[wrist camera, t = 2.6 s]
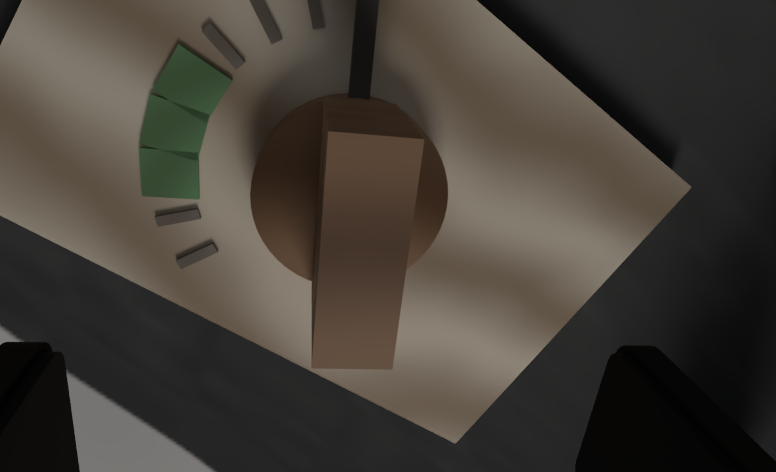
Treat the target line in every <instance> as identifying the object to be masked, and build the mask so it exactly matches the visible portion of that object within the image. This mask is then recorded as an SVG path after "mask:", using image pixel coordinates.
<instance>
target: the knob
mask: <svg viewBox="0 0 776 472" xmlns="http://www.w3.org/2000/svg"><path fill="white" fill-rule="evenodd" d="M378 8H379V0H356V6H355V18H354V30H353V42H352V54H351V66H350V79H349V91H348V93H343V94H333V95H328V96H324V97H320V98H317V99H314V100H312V101H309V102H307V103H305V104H303V105H301V106H299V107H298V108H296V109H294V110H293V111H292V112H290V113H289V114H288V115H286V116H285V117H284V118H283V119H282V120H281V121H280V122H279V123H278V124H277V125H276V126H275V128H274V129H273V130H272V131H271V133H270V134H269V135H268V137H267V139H266V141H265V143H264V144H263V146H262V149H261V151H260V154H259V156H258V159H257V162H256V165H255V168H254V172H253V176H252V180H251V190H250V202H251V210H252V216H253V220H254V223H255V226H256V229H257V231H258V233H259V235H260V237H261V239H262V241H263V243H264V244H265V245H266V247H267V248H268V250H269V251H270V252H271V253H272V255H273V256H274V257H275V258H276V259H277V260H278V261H279V262H280V263H282V264H283V265H284V266H285V267H286V268H288V269H289V270H291V271H292V272H294V273H295V274H297V275H299V276H301V277H303V278H305V279H307V280H309V281H312V369H383V370H392V369H393V361H394V354H395V347H396V340H397V333H398V326H399V318H400V311H401V304H402V297H403V290H404V283H405V275H406V269H408V268H409V267H411V266H412V265H413V264H414V263H415V262H417V261H418V260H419V259H420V258H421V257H422V256H423V255H424V253H425V252H426V251H427V250H428V249H429V247H430V246H431V245H432V243H433V242H434V240H435V238H436V236H437V235H438V233H439V231H440V229H441V226H442V223H443V221H444V218H445V213H446V209H447V202H448V182H447V177H446V171H445V168H444V165H443V162H442V159H441V157H440V155H439V153H438V151H437V149H436V147H435V146H434V144H433V143H432V141H431V140H430V138H429V137H428V136H427V135H426V133H425V132H424V131H423V130H422V129H421V127H420V126H419V125H418V124H417V123H416V122H415V121H414V120H413V119H412V118H411V117H410V116H409V115H407V114H406V113H405V112H404V111H402V110H401V109H400V108H399V107H398V106H397V104H391V103H388V102H386V101H384V100H382V99H379V98H375V97H372V96H370V90H371V80H372V70H373V59H374V49H375V39H376V29H377V19H378Z"/></svg>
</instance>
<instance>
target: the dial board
mask: <svg viewBox="0 0 776 472" xmlns="http://www.w3.org/2000/svg"><path fill="white" fill-rule="evenodd" d="M355 6H356V0H22V1H21V4H20V6H19V8H18V10H17V12H16V14H15V16H14V18H13V20H12V22H11V24H10V26H9V28H8V31H7V33H6V35H5V37H4V39H3V41H2V43H1V45H0V215H1V216H3V217H5V218H7V219H9V220H11V221H13V222H15V223H17V224H18V225H20V226H22V227H24V228H26V229H28V230H30V231H32V232H34V233H36V234H38V235H40V236H42V237H44V238H46V239H48V240H50V241H52V242H54V243H56V244H58V245H60V246H62V247H64V248H66V249H68V250H70V251H72V252H74V253H76V254H78V255H80V256H82V257H84V258H86V259H88V260H90V261H92V262H94V263H96V264H98V265H100V266H102V267H104V268H106V269H108V270H110V271H112V272H114V273H116V274H118V275H120V276H122V277H124V278H126V279H128V280H130V281H132V282H134V283H136V284H138V285H140V286H142V287H144V288H146V289H148V290H150V291H152V292H154V293H156V294H158V295H160V296H162V297H164V298H166V299H168V300H170V301H172V302H174V303H176V304H178V305H180V306H182V307H184V308H186V309H188V310H190V311H192V312H194V313H196V314H198V315H200V316H202V317H204V318H206V319H208V320H210V321H212V322H214V323H216V324H218V325H220V326H222V327H224V328H226V329H228V330H230V331H232V332H234V333H236V334H238V335H240V336H242V337H244V338H246V339H248V340H250V341H252V342H254V343H256V344H258V345H260V346H262V347H264V348H266V349H268V350H270V351H272V352H274V353H276V354H278V355H280V356H282V357H284V358H286V359H288V360H290V361H292V362H294V363H296V364H298V365H300V366H302V367H304V368H306V369H308V370H310V371H312V372H314V373H316V374H318V375H320V376H322V377H324V378H326V379H328V380H330V381H332V382H334V383H336V384H338V385H340V386H342V387H344V388H346V389H348V390H350V391H352V392H354V393H356V394H358V395H360V396H362V397H364V398H366V399H368V400H370V401H372V402H374V403H376V404H378V405H380V406H382V407H384V408H386V409H388V410H390V411H392V412H394V413H396V414H398V415H400V416H402V417H404V418H406V419H408V420H410V421H412V422H414V423H416V424H418V425H420V426H422V427H424V428H426V429H428V430H430V431H432V432H434V433H436V434H438V435H440V436H442V437H444V438H446V439H448V440H449V441H451V442H453V443H456V442H457V441H458V440H459V439H460V438H461V437H462V436H463V435H464V434H465V433H466V431H467V430H468V429H469V428H470V427H471V426H472V425H473V424H474V423H475V422H476V421H477V420H478V418H479V417H480V416H481V415H482V414H483V413H484V412H485V411H486V410H487V409H488V408H489V407H490V405H491V404H492V403H493V402H494V401H495V400H496V399H497V398H498V397H499V396H500V395H501V394H502V392H503V391H504V390H505V389H506V388H507V387H508V386H509V385H510V384H511V383H512V382H513V381H514V379H515V378H516V377H517V376H518V375H519V374H520V373H521V372H522V371H523V370H524V369H525V367H526V366H527V365H528V364H529V363H530V362H531V361H532V360H533V359H534V358H535V357H536V356H537V354H538V353H539V352H540V351H541V350H542V349H543V348H544V347H545V346H546V345H547V344H548V343H549V341H550V340H551V339H552V338H553V337H554V336H555V335H556V334H557V333H558V332H559V331H560V330H561V328H562V327H563V326H564V325H565V324H566V323H567V322H568V321H569V320H570V319H571V318H572V317H573V315H574V314H575V313H576V312H577V311H578V310H579V309H580V308H581V307H582V306H583V305H584V304H585V302H586V301H587V300H588V299H589V298H590V297H591V296H592V295H593V294H594V293H595V292H596V291H597V289H598V288H599V287H600V286H601V285H602V284H603V283H604V282H605V281H606V280H607V279H608V277H609V276H610V275H611V274H612V273H613V272H614V271H615V270H616V269H617V268H618V267H619V266H620V264H621V263H622V262H623V261H624V260H625V259H626V258H627V257H628V256H629V255H630V254H631V253H632V251H633V250H634V249H635V248H636V247H637V246H638V245H639V244H640V243H641V242H642V241H643V240H644V238H645V237H646V236H647V235H648V234H649V233H650V232H651V231H652V230H653V229H654V228H655V227H656V225H657V224H658V223H659V222H660V221H661V220H662V219H663V218H664V217H665V216H666V215H667V214H668V212H669V211H670V210H671V209H672V208H673V207H674V206H675V205H676V204H677V203H678V202H679V200H680V199H681V198H682V197H683V196H684V195H685V194H686V193H687V192H688V191H689V190H690V189H691V186H690V185H688V184H687V183H686V182H685V181H684V180H683V179H681V178H680V177H679V176H678V175H677V174H676V173H675V172H673V171H672V170H671V169H670V168H669V167H668V166H667V165H665V164H664V163H663V162H662V161H661V160H660V159H658V158H657V157H656V156H655V155H654V154H653V153H652V152H650V151H649V150H648V149H647V148H646V147H645V146H644V145H642V144H641V143H640V142H639V141H638V140H637V139H635V138H634V137H633V136H632V135H631V134H630V133H629V132H627V131H626V130H625V129H624V128H623V127H622V126H621V125H619V124H618V123H617V122H616V121H615V120H614V119H612V118H611V117H610V116H609V115H608V114H607V113H606V112H604V111H603V110H602V109H601V108H600V107H599V106H598V105H596V104H595V103H594V102H593V101H592V100H591V99H589V98H588V97H587V96H586V95H585V94H584V93H583V92H581V91H580V90H579V89H578V88H577V87H576V86H575V85H573V84H572V83H571V82H570V81H569V80H568V79H566V78H565V77H564V76H563V75H562V74H561V73H560V72H558V71H557V70H556V69H555V68H554V67H553V66H552V65H550V64H549V63H548V62H547V61H546V60H545V59H543V58H542V57H541V56H540V55H539V54H538V53H537V52H535V51H534V50H533V49H532V48H531V47H530V46H529V45H527V44H526V43H525V42H524V41H523V40H522V39H520V38H519V37H518V36H517V35H516V34H515V33H514V32H512V31H511V30H510V29H509V28H508V27H507V26H506V25H504V24H503V23H502V22H501V21H500V20H499V19H497V18H496V17H495V16H494V15H493V14H492V13H491V12H489V11H488V10H487V9H486V8H485V7H484V6H483V5H481V4H480V3H479V2H478V1H477V0H379V8H378V19H377V29H376V39H375V49H374V59H373V70H372V80H371V90H370V96H372V97H375V98H379V99H382V100H384V101H386V102H388V103H391V104H397V106H398V107H399V108H400V109H401V110H402V111H404V112H405V113H406V114H407V115H409V116H410V117H411V118H412V119H413V120H414V121H415V122H416V123H417V124H418V125H419V126H420V127H421V129H422V130H423V131H424V132H425V133H426V135H427V136H428V137H429V138H430V140H431V141H432V143H433V144H434V146H435V147H436V149H437V151H438V153H439V155H440V157H441V159H442V162H443V165H444V168H445V171H446V177H447V182H448V202H447V209H446V213H445V218H444V221H443V223H442V226H441V229H440V231H439V233H438V235H437V236H436V238H435V240H434V242H433V243H432V245H431V246H430V247H429V249H428V250H427V251H426V252H425V253H424V255H423V256H422V257H421V258H420V259H419V260H418V261H417V262H415V263H414V264H413V265H412V266H411V267H409V268H408V269H406V275H405V283H404V290H403V297H402V304H401V311H400V318H399V326H398V333H397V340H396V347H395V354H394V361H393V369H392V370H383V369H312V281H309V280H307V279H305V278H303V277H301V276H299V275H297V274H295V273H294V272H292V271H291V270H289V269H288V268H286V267H285V266H284V265H283V264H282V263H280V262H279V261H278V260H277V259H276V258H275V257H274V256H273V255H272V253H271V252H270V251H269V250H268V248H267V247H266V245H265V244H264V243H263V241H262V239H261V237H260V235H259V233H258V231H257V229H256V226H255V223H254V220H253V216H252V210H251V202H250V190H251V180H252V176H253V172H254V168H255V165H256V162H257V159H258V156H259V154H260V151H261V149H262V146H263V144H264V143H265V141H266V139H267V137H268V135H269V134H270V133H271V131H272V130H273V129H274V128H275V126H276V125H277V124H278V123H279V122H280V121H281V120H282V119H283V118H284V117H285V116H286V115H288V114H289V113H290V112H292V111H293V110H294V109H296V108H298V107H299V106H301V105H303V104H305V103H307V102H309V101H312V100H314V99H317V98H320V97H324V96H328V95H333V94H343V93H348V91H349V79H350V66H351V54H352V42H353V30H354V18H355Z"/></svg>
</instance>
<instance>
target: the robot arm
mask: <svg viewBox="0 0 776 472" xmlns="http://www.w3.org/2000/svg"><path fill="white" fill-rule="evenodd" d="M575 471H576V472H776V461H775V460H774V459H773V458H772V457H770V456H769V455H768V454H767V453H766V452H765V451H764V450H763V449H762V448H761V447H760V446H759V445H758V444H757V443H756V442H755V441H754V440H753V439H752V438H751V437H750V436H749V435H748V434H747V433H745V432H744V431H743V430H742V429H741V428H740V427H739V426H738V425H737V424H736V423H735V422H734V421H733V420H732V419H731V418H730V417H729V416H728V415H727V414H726V413H725V412H724V411H723V410H722V409H720V408H719V407H718V406H717V405H716V404H715V403H714V402H713V401H712V400H711V399H710V398H709V397H708V396H707V395H706V394H705V393H704V392H703V391H702V390H701V389H700V388H699V387H698V386H697V385H696V384H694V383H693V382H692V381H691V380H690V379H689V378H688V377H687V376H686V375H685V374H684V373H683V372H682V371H681V370H680V369H679V368H678V367H677V366H676V365H675V364H674V363H673V362H672V361H671V360H669V359H668V358H667V357H666V356H665V355H664V354H663V353H662V352H661V351H660V350H659V349H658V348H656V347H654V346H622V347H620V348H619V349H618V350H617V352H616V353H615V354H612V355H611V356H610V357H609V360H608V362H607V365H606V369H605V372H604V375H603V378H602V381H601V384H600V388H599V391H598V394H597V397H596V400H595V403H594V407H593V410H592V413H591V416H590V419H589V422H588V425H587V429H586V432H585V435H584V438H583V441H582V444H581V448H580V451H579V454H578V457H577V460H576V465H575ZM0 472H80V471H79V464H78V457H77V449H76V441H75V434H74V426H73V419H72V412H71V404H70V397H69V390H68V382H67V375H66V367H65V360H64V356H63V354H62V353H61V352H52V348H51V346H50V345H49V344H48V343H46V342H5V343H3V344H1V345H0Z"/></svg>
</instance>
